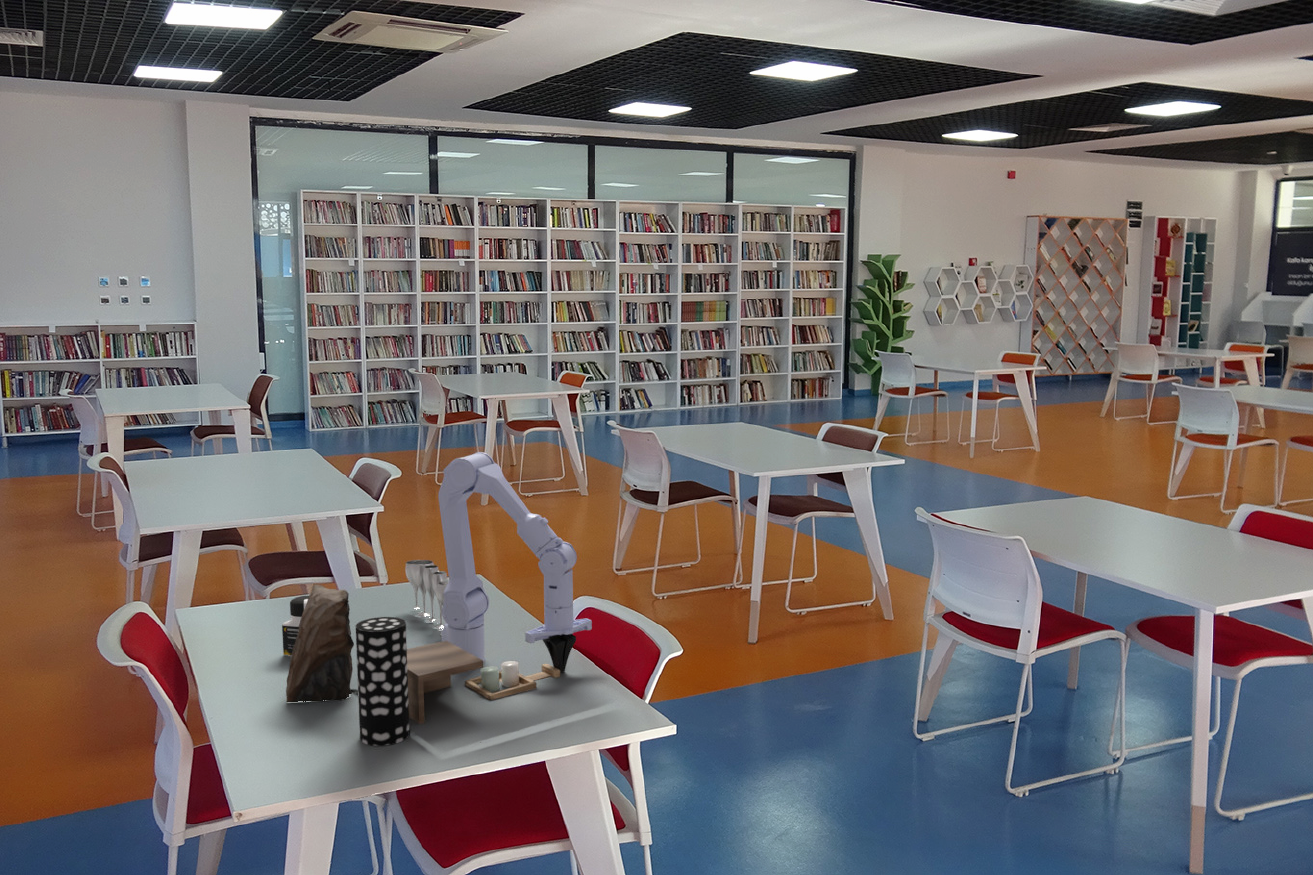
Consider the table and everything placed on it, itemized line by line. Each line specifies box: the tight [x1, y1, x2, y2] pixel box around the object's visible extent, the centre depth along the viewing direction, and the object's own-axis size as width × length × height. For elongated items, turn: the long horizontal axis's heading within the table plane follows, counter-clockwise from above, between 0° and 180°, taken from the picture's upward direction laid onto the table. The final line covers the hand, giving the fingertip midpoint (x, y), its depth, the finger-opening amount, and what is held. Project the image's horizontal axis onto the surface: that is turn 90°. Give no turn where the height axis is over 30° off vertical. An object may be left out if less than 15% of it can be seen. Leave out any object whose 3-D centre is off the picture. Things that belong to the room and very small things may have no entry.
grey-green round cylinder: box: [480, 665, 500, 693], centre depth 201 cm, size 3×3×4 cm
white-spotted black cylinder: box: [355, 616, 410, 747], centre depth 181 cm, size 8×8×20 cm
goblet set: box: [404, 559, 449, 637], centre depth 247 cm, size 28×6×13 cm, turn 32°
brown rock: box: [285, 583, 355, 702], centre depth 202 cm, size 13×13×20 cm
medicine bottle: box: [281, 595, 309, 657], centre depth 225 cm, size 7×7×12 cm
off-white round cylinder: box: [500, 660, 520, 688], centre depth 204 cm, size 3×3×4 cm
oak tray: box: [464, 663, 561, 701], centre depth 205 cm, size 10×17×2 cm, turn 128°
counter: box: [407, 640, 484, 725], centre depth 194 cm, size 14×13×10 cm
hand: (559, 670), depth 211 cm, fingers closed
